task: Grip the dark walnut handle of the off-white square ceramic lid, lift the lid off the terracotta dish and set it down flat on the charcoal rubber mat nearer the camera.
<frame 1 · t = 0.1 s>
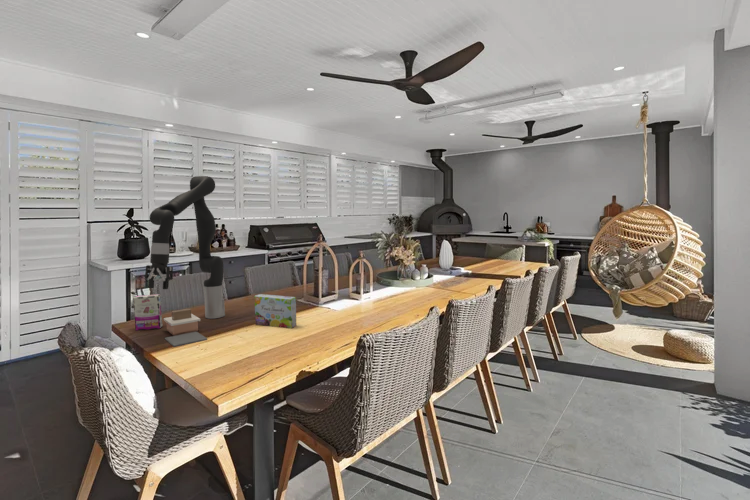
hand: (158, 288, 188), 22 cm above the table, tool pointing down, fingers open, 8 cm apart
candy bar box: (149, 328, 203), on the table
lid: (181, 320, 198), point 5 cm above the table, touching dish
snack box: (275, 325, 207), on the table
mat: (185, 339, 185), on the table
dish: (182, 330, 199), on the table
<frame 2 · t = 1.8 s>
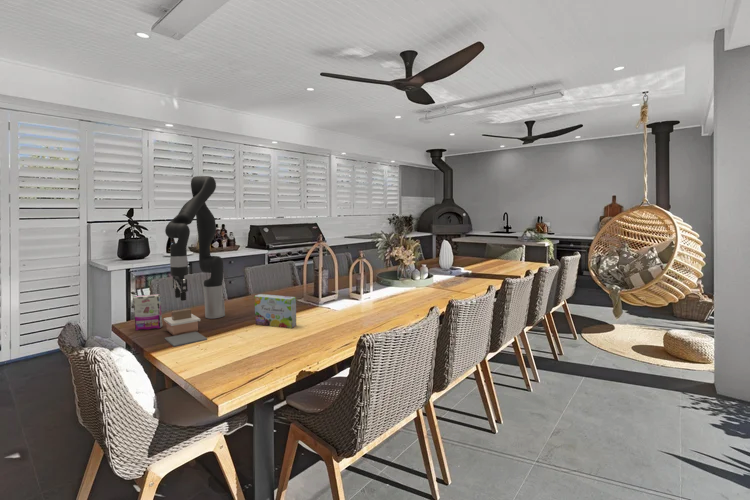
hand: (180, 298, 197), 16 cm above the table, tool pointing down, fingers open, 8 cm apart
nothing on the table moved.
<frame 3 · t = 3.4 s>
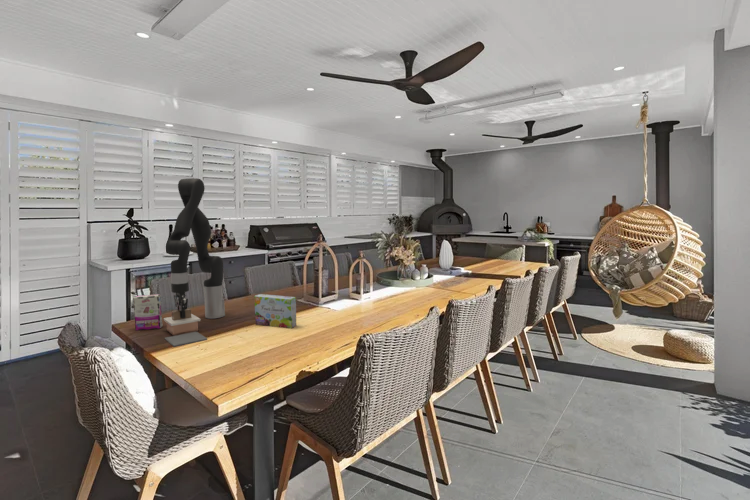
hand: (181, 317, 198), 7 cm above the table, tool pointing down, fingers closed on lid, 3 cm apart
lid: (181, 320, 198), point 5 cm above the table, touching dish, gripper
everything else where it was.
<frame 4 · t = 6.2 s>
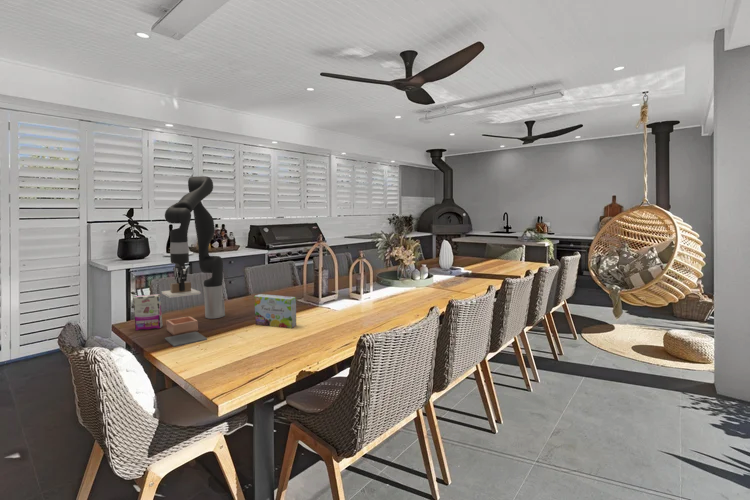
hand: (180, 290, 187), 22 cm above the table, tool pointing down, fingers closed on lid, 3 cm apart
lid: (180, 293, 187), point 20 cm above the table, touching gripper
everything else where it was.
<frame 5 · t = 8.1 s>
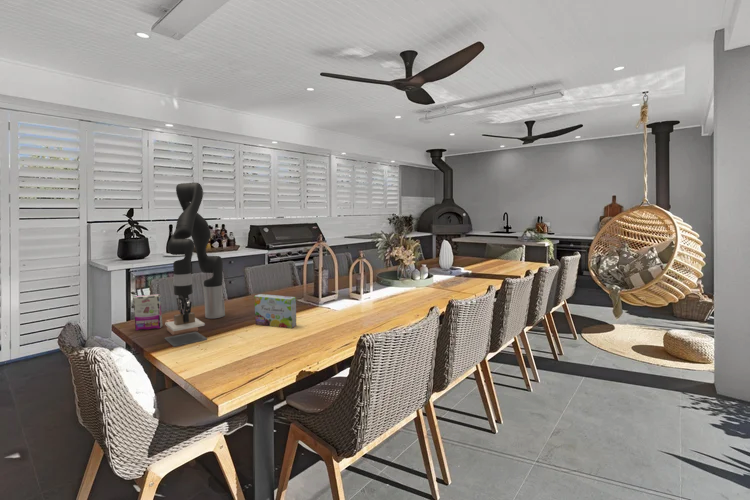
hand: (184, 321, 185), 8 cm above the table, tool pointing down, fingers closed on lid, 3 cm apart
lid: (184, 325, 185), point 7 cm above the table, touching gripper
everything else where it was.
when the fingers open (4 cm above the table, at t = 9.3 s): lid drops 1 cm, resting on mat.
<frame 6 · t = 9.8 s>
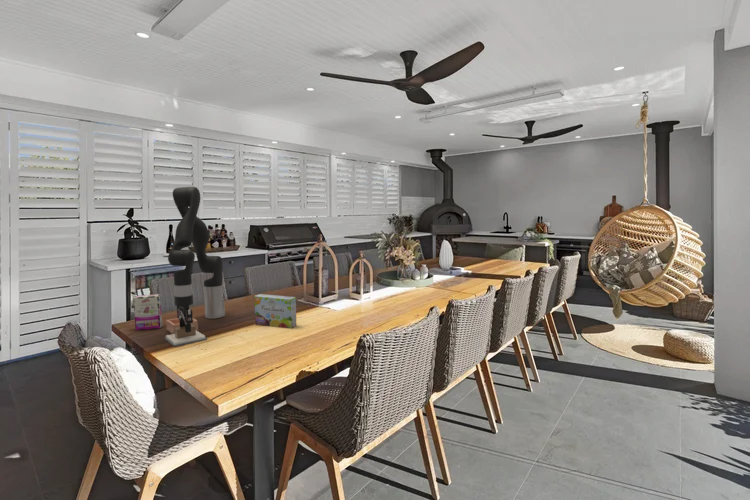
hand: (185, 330, 185), 4 cm above the table, tool pointing down, fingers open, 7 cm apart
lid: (185, 338, 185), point 1 cm above the table, touching mat
everything else where it was.
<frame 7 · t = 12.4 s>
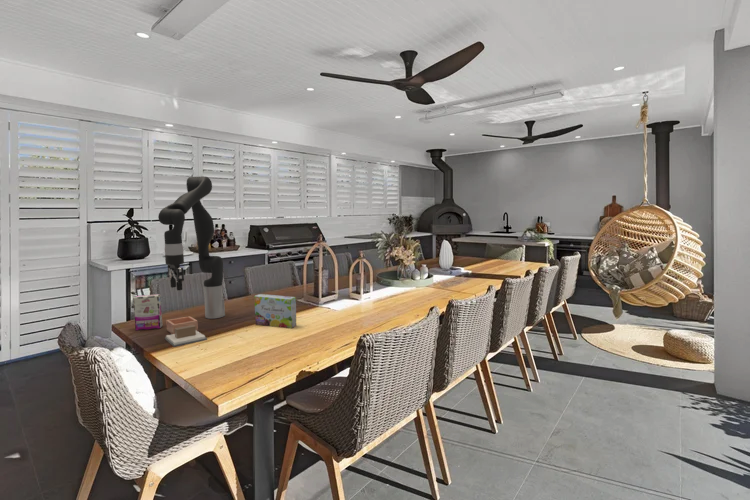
hand: (176, 288, 188), 22 cm above the table, tool pointing down, fingers open, 8 cm apart
nothing on the table moved.
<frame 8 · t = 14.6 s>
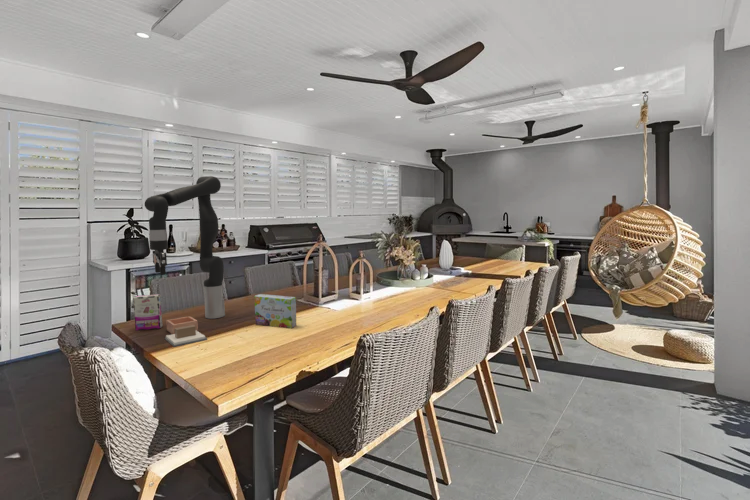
hand: (160, 273, 195), 28 cm above the table, tool pointing down, fingers open, 8 cm apart
nothing on the table moved.
at the end: lid inside the target area on the mat (0.1 cm from its centre), point 0.6 cm above the mat's base; lid tilted 0°; the gripper is holding nothing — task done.
